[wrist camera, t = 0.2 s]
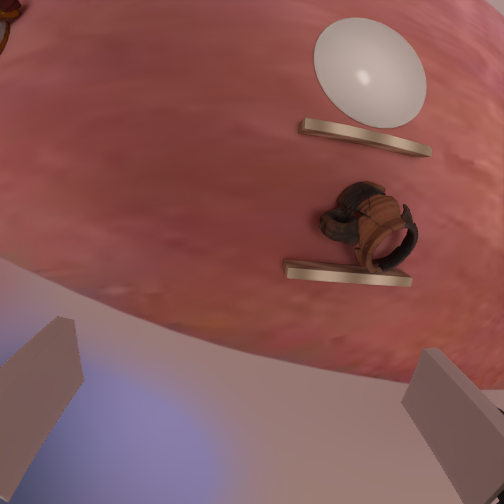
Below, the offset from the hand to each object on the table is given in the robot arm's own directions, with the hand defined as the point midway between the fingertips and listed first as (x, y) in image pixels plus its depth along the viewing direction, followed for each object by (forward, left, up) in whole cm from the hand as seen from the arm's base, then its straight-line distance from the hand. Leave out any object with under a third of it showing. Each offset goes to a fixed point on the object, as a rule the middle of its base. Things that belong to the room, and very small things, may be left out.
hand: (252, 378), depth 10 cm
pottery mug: (-4, +12, -28) cm, 30 cm away
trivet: (-23, +14, -27) cm, 38 cm away
